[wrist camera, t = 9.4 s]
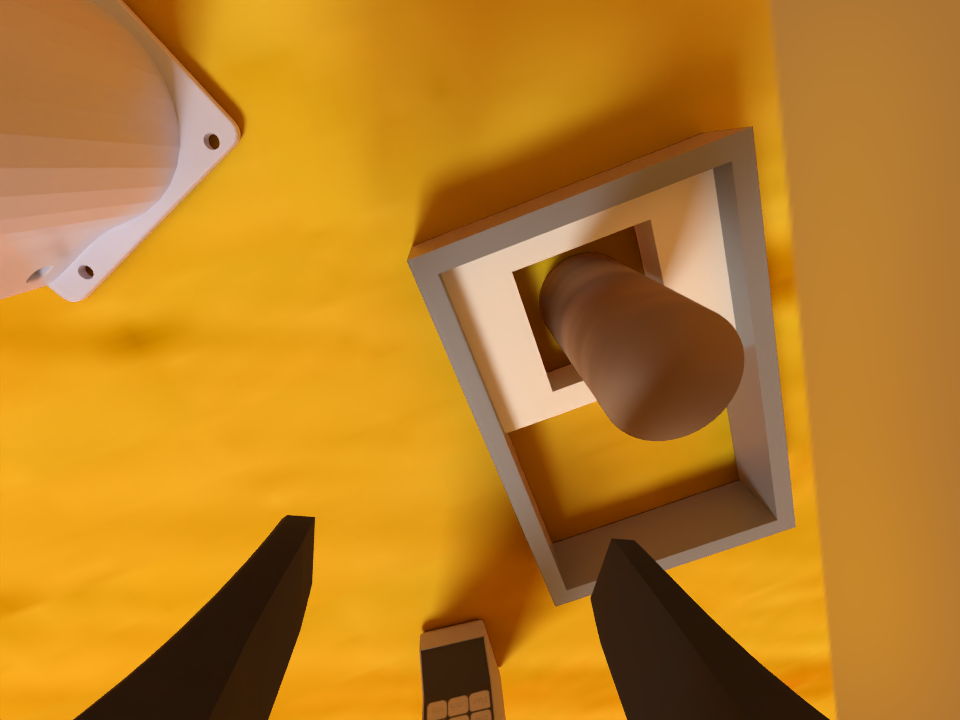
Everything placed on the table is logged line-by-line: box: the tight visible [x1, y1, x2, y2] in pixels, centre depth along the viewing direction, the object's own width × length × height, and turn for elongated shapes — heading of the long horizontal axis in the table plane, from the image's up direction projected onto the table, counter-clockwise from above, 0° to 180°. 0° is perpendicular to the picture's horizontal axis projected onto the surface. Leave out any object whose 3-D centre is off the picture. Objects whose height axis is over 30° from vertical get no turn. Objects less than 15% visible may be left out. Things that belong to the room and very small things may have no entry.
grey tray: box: [407, 127, 796, 606], centre depth 20 cm, size 18×12×3 cm, turn 20°
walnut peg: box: [539, 252, 744, 441], centre depth 16 cm, size 4×4×8 cm
